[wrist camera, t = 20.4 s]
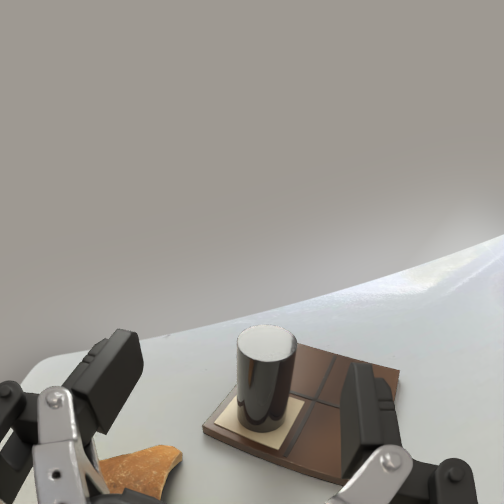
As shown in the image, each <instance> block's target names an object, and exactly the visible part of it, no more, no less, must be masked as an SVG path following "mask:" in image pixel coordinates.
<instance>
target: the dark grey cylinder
mask: <svg viewBox="0 0 504 504" xmlns="http://www.w3.org/2000/svg"><path fill="white" fill-rule="evenodd" d="M296 352H297V340H296V338H295V336H294V335H293V334H292V333H291V332H289V331H288V330H286V329H284V328H281V327H278V326H274V325H257V326H253V327H250V328H248V329H246V330H244V331H243V332H242V333H241V334H240V335H239V337H238V339H237V418H238V421H239V422H240V424H241V425H242V426H243V427H245V428H246V429H248V430H250V431H253V432H257V433H267V432H271V431H274V430H276V429H278V428H279V427H281V426H282V425H283V423H284V422H285V419H286V415H287V409H288V403H289V397H290V391H291V385H292V378H293V372H294V365H295V359H296Z"/></svg>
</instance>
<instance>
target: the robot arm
mask: <svg viewBox="0 0 504 504" xmlns="http://www.w3.org/2000/svg"><path fill="white" fill-rule="evenodd" d="M143 366H144V362H143V357H142V352H141V348H140V343H139V338H138V335H137V333H136V332H131V331H127V330H123V329H117V330H116V331H115V332H114V333H113V335H112V336H111V337H110V338H109V339H106V338H105V339H103V340H102V341H100V342H98V343H97V344H95V345H94V346H93V347H92V349H91V350H90V351H89V352H88V355H86V356H85V357H84V358H83V360H82V362H80V363H79V365H78V366H77V367H76V368H75V370H74V371H73V372H72V373H71V375H70V376H69V377H68V378H67V380H66V381H65V382H64V383H63V385H62V386H52V387H49V388H47V389H45V390H44V391H42V392H41V394H34V393H26V392H23V390H22V388H21V386H20V385H19V384H18V383H17V382H15V381H5V382H2V383H0V443H1V441H2V440H3V438H4V437H5V435H6V434H7V432H8V431H9V429H10V428H12V429H13V433H12V434H11V436H10V437H9V439H8V440H7V442H6V444H5V445H4V447H3V448H2V450H1V451H0V504H12V503H13V501H14V500H15V498H16V496H17V494H18V492H19V490H20V488H21V486H22V485H23V483H24V481H25V479H26V477H27V476H28V474H29V472H30V470H31V468H32V467H33V468H34V477H35V486H36V493H37V500H38V504H166V503H164V502H162V501H160V500H158V499H157V498H155V497H152V496H149V495H146V494H143V493H140V492H137V491H134V490H131V489H128V488H126V487H125V488H124V490H123V493H122V494H119V493H111V494H110V491H109V489H108V487H107V485H106V483H105V481H104V478H103V475H102V471H101V467H100V463H99V459H98V455H97V451H96V446H95V442H94V438H93V435H94V434H95V432H96V431H97V432H100V433H102V434H105V435H106V434H107V433H108V431H109V429H110V428H111V426H112V424H113V422H114V421H115V419H116V417H117V416H118V414H119V412H120V410H121V409H122V407H123V405H124V404H125V402H126V400H127V399H128V397H129V395H130V393H131V392H132V390H133V388H134V387H135V385H136V383H137V382H138V380H139V378H140V377H141V375H142V372H143ZM340 431H341V479H350V480H349V481H348V482H347V484H346V485H345V486H344V487H343V488H342V489H341V490H340V491H339V492H338V493H337V494H336V495H335V496H332V497H331V498H330V499H329V500H328V501H327V502H326V503H325V504H478V501H477V495H476V489H475V483H474V478H473V473H472V470H471V468H470V466H469V465H468V464H467V463H466V462H465V461H463V460H461V459H457V458H450V459H446V460H444V461H443V462H442V463H440V465H439V466H438V465H433V464H428V463H423V462H419V461H416V460H414V459H413V458H412V457H411V455H410V454H409V453H408V451H406V450H405V449H404V448H403V447H402V443H401V437H400V432H399V426H398V421H397V415H396V411H395V405H394V402H393V395H392V391H391V387H390V386H389V385H388V383H387V382H386V381H385V379H384V378H377V377H374V373H373V367H372V364H371V363H357V362H351V363H350V365H349V368H348V372H347V375H346V378H345V381H344V385H343V388H342V391H341V396H340Z"/></svg>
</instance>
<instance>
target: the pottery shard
mask: <svg viewBox="0 0 504 504" xmlns="http://www.w3.org/2000/svg"><path fill="white" fill-rule="evenodd" d="M181 461H182V452H181V451H180V450H178V449H176V448H175V447H173V446H165V445H158V446H155V447H151V448H148V449H144V450H141V451H138V452H134V453H132V454H126V455H120V456H116V457H112V458H109V459H105V460H100V461H99V463H100V467H101V471H102V475H103V478H104V481H105V483H106V485H107V487H108V489H109V491H110V494H111V493H119V494H122V493H123V490H124V488H125V487H126V488H128V489H131V490H134V491H137V492H140V493H143V494H146V495H149V496H152V497H155V498H157V499H158V500H160V499H161V493H162V490H163V487H164V485H165V482H166V478H167V476H168V473H169V472H170V471H171V470H172V468H173V467H174V466H175V465H177V464H178V463H179V462H181Z"/></svg>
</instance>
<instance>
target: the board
mask: <svg viewBox="0 0 504 504" xmlns="http://www.w3.org/2000/svg"><path fill="white" fill-rule="evenodd" d="M351 362H357V363H368V362H364V361H360V360H356V359H353V358H349V357H345V356H342V355H338V354H334V353H331V352H327V351H324V350H320V349H316V348H313V347H310V346H306V345H303V344H299V343H297V352H296V359H295V365H294V372H293V378H292V385H291V391H290V397H289V403H288V409H287V415H286V419H285V422H284V423H283V425H282V426H281V427H279V428H278V429H276V430H274V431H271V432H267V433H257V432H253V431H250V430H248V429H246V428H245V427H243V426H242V425H241V424H240V422H239V421H238V418H237V384H236V386H235V387H234V388H233V389H232V391H231V392H230V393H229V394H228V395H227V397H226V398H225V399H224V400H223V402H222V403H221V404H220V405H219V406H218V408H217V409H216V410H215V411H214V412H213V414H212V415H211V416H210V417H209V418H208V419H207V421H206V422H205V423H204V424H203V425H202V428H203V433H205V434H207V435H209V436H211V437H213V438H216V439H218V440H220V441H222V442H224V443H226V444H229V445H231V446H233V447H235V448H238V449H240V450H242V451H245V452H247V453H249V454H252V455H254V456H257V457H259V458H262V459H264V460H267V461H269V462H272V463H275V464H277V465H280V466H283V467H286V468H288V469H291V470H294V471H297V472H300V473H303V474H306V475H309V476H312V477H315V478H319V479H322V480H325V481H329V482H332V483H335V484H339V485H343V486H345V485H346V484H347V482H348V481H349V480H350V479H341V431H340V396H341V391H342V388H343V385H344V381H345V378H346V375H347V372H348V368H349V365H350V363H351ZM371 364H372V363H371ZM372 367H373V373H374V377H377V378H384V379H385V381H386V382H387V383H388V385H389V386H390V387H391V391H392V395H393V402H394V399H395V394H396V389H397V384H398V378H399V373H400V370H396V369H392V368H388V367H384V366H380V365H376V364H372Z"/></svg>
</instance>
